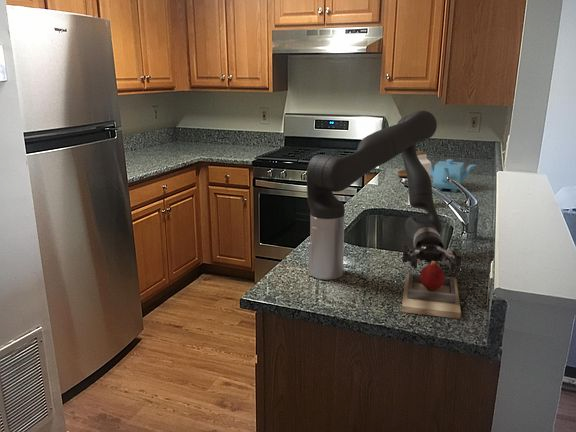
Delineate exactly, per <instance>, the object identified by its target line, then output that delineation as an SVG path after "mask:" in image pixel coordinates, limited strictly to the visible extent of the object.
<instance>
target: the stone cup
mask: <svg viewBox="0 0 576 432" xmlns="http://www.w3.org/2000/svg"><path fill="white" fill-rule="evenodd" d="M416 153H417V155H425V154H426V152H425V151H423V150H421V151H420V150H416ZM397 176H398V177H401V178H407V173H406V169H403V170H398V172H397Z"/></svg>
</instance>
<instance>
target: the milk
mask: <svg viewBox="0 0 576 432" xmlns="http://www.w3.org/2000/svg"><path fill="white" fill-rule="evenodd" d="M417 157H418V159H419V161H420V162H421V164H422V165H423V167H424V168H425V169H426V171H427V172H428V174H429V176H430V177H431V175H430V174H431V164H432V162H431V160H429V159H428V158H427V157H428V156H427V154H426V153H425V155H417ZM407 196H408V198H407V200H408V201H407V206H408V205H410V202H409V195H407Z"/></svg>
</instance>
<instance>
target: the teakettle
mask: <svg viewBox="0 0 576 432" xmlns="http://www.w3.org/2000/svg"><path fill="white" fill-rule="evenodd" d="M476 166H477V164H469V165H468V166H467V168H466V169H465V162H460V161H454V159H451V158H450V159H449V158H448V159H445V160H439V161H438V162H437V163H435V164H434V168H433V164H432V163H431V174H430V177H431V178H433V180H432V181H433V182H432V187H433V186H434V187H436V188H435V189H437V188H438V189H439V190H441V192H442V190H443V189H445V190H447V189H449V190H450V192H451V193H458V190H460V188H459V189H458V188H457V187H456V186H454V185H453V184H452V183H450V182H448V181H447V177H449V178H451V179H453V180H455V181H456V182H457V183H459V184H461V186H462V185H463V181H465V180H466V179H467V178H468V176H469V174H470V172H471V170H472V169H473V168H474V167H476ZM464 169H465V170H464Z"/></svg>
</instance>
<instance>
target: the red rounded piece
mask: <svg viewBox="0 0 576 432" xmlns="http://www.w3.org/2000/svg"><path fill="white" fill-rule="evenodd" d="M419 274H420V281H421V283H422V284H423V285H424V287H426V288H427V290H428V291H434V290H436V289H438V288H440V287H441V286H442V285H443V283H444V280H445V277H446V276H445V275H446V274H445V273H444V270H443V269H442V268H441V266H440V265H438V264H437V262H434V261H431V263H429V264H427V265H426V266H424V267H423V268H422V270H421V271H420V273H419Z"/></svg>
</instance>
